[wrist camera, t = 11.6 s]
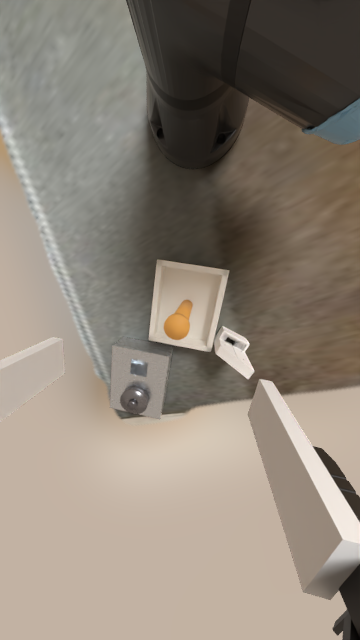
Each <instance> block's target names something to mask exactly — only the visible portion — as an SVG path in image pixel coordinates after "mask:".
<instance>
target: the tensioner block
mask: <svg viewBox="0 0 360 640" xmlns="http://www.w3.org/2000/svg"><path fill="white" fill-rule="evenodd" d="M172 353H173V346H169V345H164V344H159V343H154V342H148V341H143V340H138V339H133V338H128V337H122V338H121V339H120V340H118V341H117V342H116V343H115V344H113V345H112V368H111V393H110V408H114V409H118V410H122V411H127V412H129V413H132V414H140V415H144V416H148V417H153V418H157V419H160V418H161V414H162V411H163V407H164V404H165V398H166V392H167V385H168V379H169V372H170V366H171V359H172Z"/></svg>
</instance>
